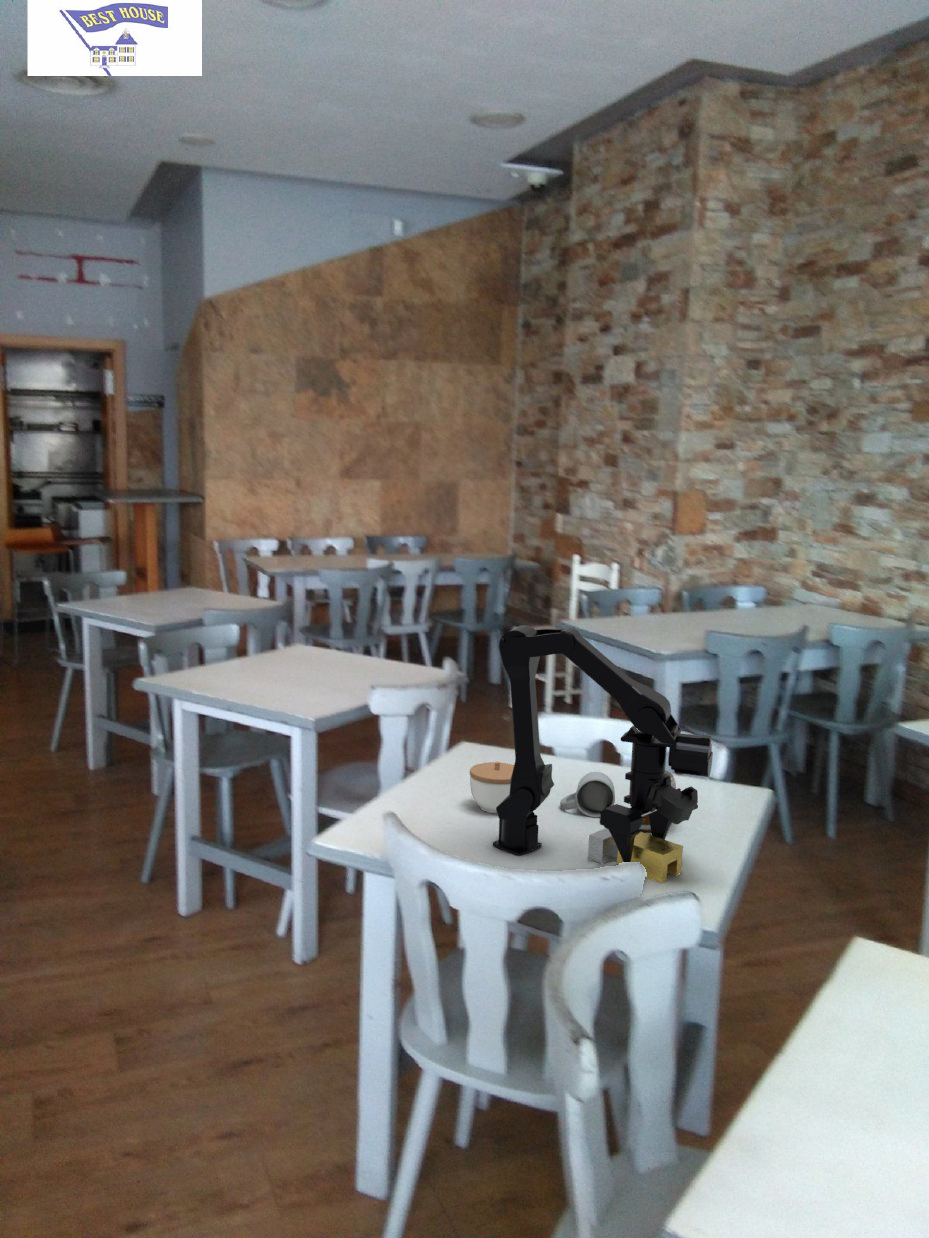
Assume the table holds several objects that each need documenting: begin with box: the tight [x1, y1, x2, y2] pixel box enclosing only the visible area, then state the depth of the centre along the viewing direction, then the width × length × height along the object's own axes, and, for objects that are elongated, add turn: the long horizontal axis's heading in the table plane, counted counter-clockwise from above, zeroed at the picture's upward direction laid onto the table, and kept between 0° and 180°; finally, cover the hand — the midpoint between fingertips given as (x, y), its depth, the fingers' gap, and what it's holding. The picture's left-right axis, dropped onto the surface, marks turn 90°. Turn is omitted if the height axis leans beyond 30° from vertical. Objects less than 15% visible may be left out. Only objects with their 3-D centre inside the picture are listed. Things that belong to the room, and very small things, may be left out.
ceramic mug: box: [559, 771, 616, 818], centre depth 207 cm, size 11×8×8 cm
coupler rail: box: [587, 827, 618, 865], centre depth 182 cm, size 10×8×4 cm
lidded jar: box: [469, 761, 514, 814], centre depth 206 cm, size 11×11×9 cm
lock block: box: [616, 832, 684, 884], centre depth 178 cm, size 9×6×5 cm, turn 46°
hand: (642, 856), depth 179 cm, fingers open, 9 cm apart
